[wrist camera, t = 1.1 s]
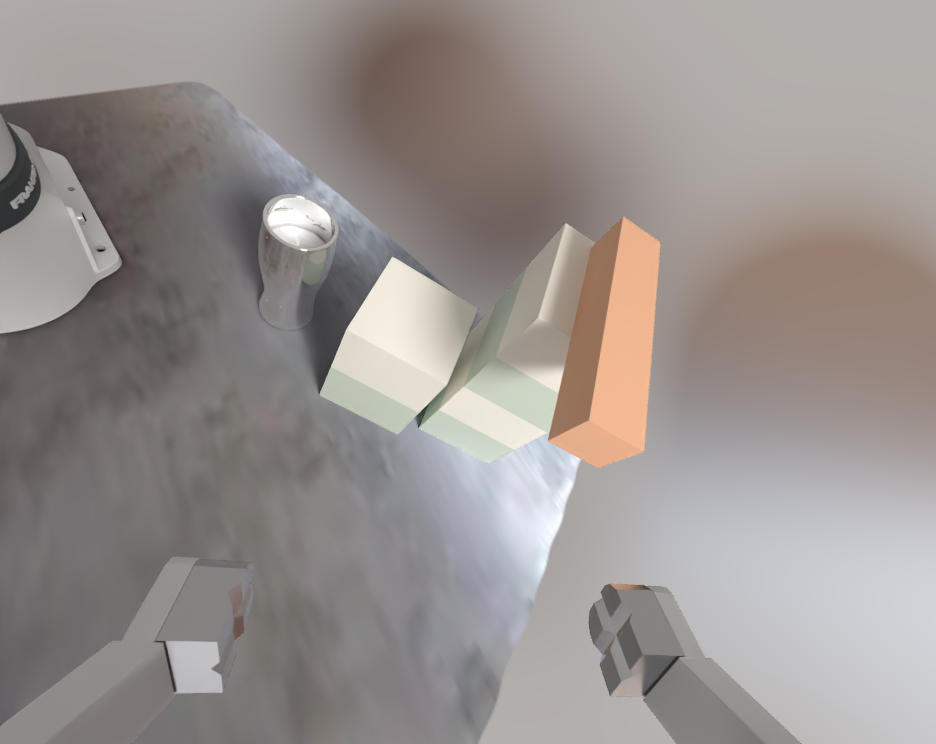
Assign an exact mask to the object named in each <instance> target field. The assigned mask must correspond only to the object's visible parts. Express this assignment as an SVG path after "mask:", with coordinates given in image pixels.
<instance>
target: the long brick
mask: <svg viewBox="0 0 936 744" xmlns="http://www.w3.org/2000/svg"><path fill="white" fill-rule="evenodd" d="M659 255H660V242H659V241H657V240H656V239H655V238H653V237H652V236H650V235H649V234H648V233H646V232H645V231H643V230H642V229H640V228H639V227H638V226H636V225H635V224H634V223H632V222H631V221H629V220H628V219H626V218H625V217H624V216H623V217H622V218H621V219H620V220H619V221H618V222H617V223H616V224H615V225H614V226H613V227H612V228H611V229H610V230H609V231H608V232H607V233H606V234H605V235H604V236H603V237H602V238H601V239H600V240H599V241H598V242H597V243H596V244H595V245H594V246H592V247H591V251H590V255H589V260H588V264H587V269H586V273H585V278H584V282H583V286H582V291H581V295H580V300H579V304H578V309H577V313H576V318H575V322H574V326H573V331H572V335H571V340H570V344H569V349H568V353H567V358H566V362H565V367H564V371H563V375H562V380H561V384H560V389H559V393H558V398H557V402H556V407H555V411H554V416H553V420H552V424H551V429H550V433H549V438H548V441H549V442H551V443H553V444H555V445H556V446H558V447H560V448H562V449H564V450H565V451H567V452H569V453H571V454H573V455H575V456H576V457H578V458H580V459H582V460H584V461H586V462H587V463H589V464H591V465H593V466H595V467H597V468H600V467H602V466H605V465H608V464H611V463H614V462H616V461H619V460H622V459H625V458H628V457H630V456H633V455H636V454H639V453H641V452H644V446H645V433H646V420H647V407H648V395H649V382H650V369H651V357H652V343H653V331H654V317H655V306H656V292H657V280H658V267H659Z"/></svg>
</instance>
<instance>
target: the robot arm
mask: <svg viewBox="0 0 936 744" xmlns="http://www.w3.org/2000/svg"><path fill="white" fill-rule="evenodd" d="M98 250H105V251H103V252H98ZM121 265H122V260H121V258H120V256H119V254H118V252H117V250H116V249H115V247H114V245H113V243H112V241H111V239H110V237H109V236H108V234H107V232H106V230H105V228H104V226H103V225H102V223H101V221H100V219H99V217H98V215H97V214H96V212H95V210H94V208H93V206H92V204H91V202H90V201H89V199H88V197H87V195H86V193H85V191H84V190H83V188H82V186H81V184H80V182H79V180H78V178H77V177H76V175H75V173H74V171H73V169H72V168H71V166H70V164H69V162H68V161H67V159H66V158H65V157H64V156H62V155H60V154H58V153H55V152H53V151H50V150H47V149H44V148H40V147H37V146H36V145H35V143H34V141H33V139H32V137H31V135H30V133H28V132H27V131H25V130H24V129H22V128H20V127H18V126H16V125H13V124H11V123H8V122H6V121H4V119H3V117H2V115H1V113H0V333H7V332H14V331H20V330H24V329H29V328H32V327H36V326H39V325H42V324H44V323H47V322H49V321H52V320H54V319H56V318H58V317H60V316H62V315H63V314H65V313H67V312H68V311H69V310H71V309H72V308H74V307H75V306H76V305H77V304H78V303H79V302H80V301H81V300H82V299H83V298H84V297H85V296H86V294H87V293H88V292H89V290H90V289H91V288H92V286H93V285H94V284H95V283H96V282H97V281H99V280H101V279H103V278H105V277H106V276H108V275H110V274H112V273H113V272H115V271H116V270H118V269H119V268H120V267H121ZM252 575H253V562H241V561H227V560H213V559H201V558H188V557H172V558H171V559H170V560H169V561H168V562H167V563H166V564H165V566H164V567H163V569H162V571H161V572H160V574H159V576H158V578H157V579H156V581H155V583H154V584H153V586H152V588H151V590H150V591H149V593H148V595H147V597H146V598H145V600H144V602H143V603H142V605H141V607H140V609H139V610H138V612H137V614H136V616H135V617H134V619H133V621H132V622H131V624H130V626H129V628H128V629H127V631H126V633H125V635H124V636H123V638H122V640H121V641H111V642H110V643H109V644H107V645H106V646H105V647H103V648H102V649H101V650H99V651H98V652H97V653H95V654H94V655H93V656H91V657H90V658H89V659H88V660H86V661H85V662H84V663H82V664H81V665H80V666H78V667H77V668H76V669H74V670H73V671H72V672H70V673H69V674H68V675H67V676H65V677H64V678H63V679H61V680H60V681H59V682H57V683H56V684H55V685H53V686H52V687H51V688H49V689H48V690H47V691H46V692H44V693H43V694H42V695H40V696H39V697H38V698H36V699H35V700H34V701H32V702H31V703H30V704H28V705H27V706H26V707H25V708H23V709H22V710H21V711H19V712H18V713H17V714H15V715H14V716H13V717H11V718H10V719H9V720H7V721H6V722H5V723H4V724H2V725H1V726H0V744H131V743H132V742H133V741H134V740H135V738H136V737H137V736H138V735H139V734H140V733H141V732H142V731H143V730H144V729H145V728H146V727H147V726H148V725H149V724H150V723H151V721H152V720H153V719H154V718H155V717H156V716H157V715H158V714H159V713H160V712H161V711H162V710H163V709H164V708H165V707H166V706H167V705H168V703H169V702H170V701H171V700H172V699H173V698H174V697H175V694H174V693H220V692H223V691H224V688H225V685H226V683H227V680H228V677H229V674H230V671H231V669H232V666H233V663H234V660H235V657H236V647H235V640H237V639H238V638H239V637H240V636H241V635H242V634H243V633H244V631H245V628H246V625H247V622H248V619H249V616H250V612H251V608H252V604H253V597H254V585H253V584H252V583H251V582H250V580H251V577H252ZM601 594H602V596H603V598H602V599H600V600H598V601H597V602H595V603H594V604H593V606H592V608H591V610H590V613H589V629H590V634H591V638H592V641H593V644H594V645H595V646H596V647H597V648H598V650H599V651H600V652H601V653H602V654H603V655H602V659H601V662H600V667H601V670H602V673H603V676H604V679H605V682H606V685H607V688H608V691H609V694H610V696H619V697H643V698H644V699H643V700H644V702H645V703H646V704H647V706H648V707H649V708H650V710H651V711H652V712H653V713H654V715H655V716H656V717H657V719H658V720H659V721H660V723H661V724H662V725H663V727H664V728H665V729H666V731H667V732H668V733H669V735H670V736H671V737H672V739H673V740H674V741H675V742H676V744H801V743H800V742H799V741H798V740H797V739H796V738H795V737H794V736H793V735H792V734H791V733H790V732H789V731H788V730H786V729H785V728H784V727H783V726H782V725H781V724H780V723H779V722H778V721H777V720H776V719H775V718H774V717H773V716H771V715H770V714H769V713H768V712H767V711H766V710H765V709H764V708H763V707H762V706H761V705H760V704H759V703H758V702H757V701H756V700H755V699H754V698H753V697H752V696H750V695H749V694H748V693H747V692H746V691H745V690H744V689H743V688H742V687H741V686H740V685H739V684H737V682H736V681H735V680H733V679H732V678H731V677H730V676H729V675H728V674H727V673H726V672H725V671H724V670H723V669H722V668H721V667H720V666H718V664H717V663H715V662H714V661H713V660H712V659H711V658H705V656H704V654H703V652H702V651H701V649H700V647H699V645H698V643H697V641H696V639H695V637H694V635H693V633H692V631H691V629H690V627H689V625H688V624H687V622H686V620H685V618H684V616H683V614H682V612H681V610H680V608H679V606H678V604H677V602H676V601H675V598H674V597H673V595H672V593H671V592H670V591H669V590H668V589H667V588H665V587H658V586H645V585H627V584H608V585H605V586H604V588H603V589H602V591H601Z"/></svg>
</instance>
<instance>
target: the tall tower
mask: <svg viewBox="0 0 936 744" xmlns="http://www.w3.org/2000/svg"><path fill="white" fill-rule="evenodd" d="M595 244H596V243H594V242H593V241H591V240H590V239H588V238H587V237H585V236H584V235H582V234H581V233H579V232H578V231H577V230H575V229H574V228H572V227H571V226H569V225H568V224H565V225H564V226H563V227H562V228H561V229H560V230H559V232H558V233H557V234H556V235H555V236H554V238H552V239H551V241H550V242H549V243H548V244H547V245H546V246H545V247H544V249H543V250H542V251H541V252H540V253H539V254H538V255H537V257H536V258H535V259H534V260H533V261H532V262H531V263H530V264H529V266H528V267H527V268H526V269H525V270H524V271H523V272H522V273H521V275H520V276H519V277H518V278H517V279H516V280H515V282H514V283H513V284H512V285H511V286H510V287H509V288H508V290H507V291H506V292H505V293H504V294H503V295H502V296H501V297H500V298H499V300H498V301H497V302H496V303H495V304H494V305H493V306H492V307H491V309H490V310H489V311H488V312H487V313H486V314H485V315H484V317H483V318H482V319H481V320H480V321H479V322H478V323H477V325H476V326H475V327H474V328H473V329H472V330H471V331H470V332H469V334H468V335H467V338H466V340H465V343H464V345H463V347H462V350H461V352H460V355H459V357H458V360H457V362H456V365H455V367H454V369H453V372H452V374H451V377H450V379H449V382H448V384H447V385H446V386H445V387H444V388H443V389H442V390H441V391H440V392H439V393H438V394H437V395H436V396H435V397H434V398H433V400H432V401H431V402H430V403H429V405H428V407H427V410H426V412H425V414H424V417H423V419H422V421H421V424H420V426H419V429H421V430H423V431H425V432H427V433H429V434H431V435H433V436H434V437H436V438H438V439H440V440H442V441H444V442H446V443H448V444H450V445H452V446H454V447H456V448H458V449H460V450H462V451H464V452H465V453H467V454H469V455H471V456H473V457H475V458H477V459H479V460H481V461H483V462H485V463H487V464H489V463H491V462H493V461H495V460H497V459H498V458H500V457H502V456H504V455H506V454H508V453H510V452H512V451H514V450H515V449H517V448H519V447H521V446H523V445H525V444H527V443H529V442H531V441H532V440H534V439H536V438H538V437H540V436H542V435H544V434H546V433H548V432H549V431H550V429H551V424H552V420H553V416H554V411H555V407H556V402H557V398H558V393H559V389H560V384H561V380H562V375H563V371H564V367H565V362H566V358H567V353H568V349H569V344H570V340H571V335H572V331H573V326H574V322H575V318H576V313H577V309H578V304H579V300H580V295H581V291H582V286H583V282H584V278H585V273H586V269H587V264H588V260H589V255H590V251H591V247H592V246H594V245H595Z"/></svg>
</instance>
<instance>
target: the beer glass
mask: <svg viewBox="0 0 936 744" xmlns="http://www.w3.org/2000/svg"><path fill="white" fill-rule="evenodd" d="M337 236H338V223H337V221H336V219H335V217H334V215H333V214H332V213H331V211H330V210H329V209H328V208H327V207H325V206H324V205H323V204H321V203H320V202H318V201H316V200H314V199H312V198H310V197H307V196H303V195H297V194H285V195H280V196H277V197H275V198H273V199H272V200H270V201H269V202H268V203H267V204H266V206H265V208H264V210H263V218H262V223H261V228H260V233H259V241H258V258H259V265H260V270H261V275H262V279H263V283H264V290H263V293H262V295H261V297H260V300H259V311H260V314H261V316H262V317H263V318H264V320H265V321H266V322H267V323H269V324H270V325H272V326H274V327H276V328H278V329H282V330H297V329H300V328H302V327H304V326H306V325H307V324H308V323H309V322H310V321H311V319H312V317H313V314H314V302H313V300H314V297H315V295H316V293H317V292H318V290H319V289H320V287H321V286H322V284H323V283H324V281H325V279H326V277H327V275H328V273H329V271H330V268H331V265H332V262H333V258H334V254H335V248H336V241H337Z"/></svg>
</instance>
